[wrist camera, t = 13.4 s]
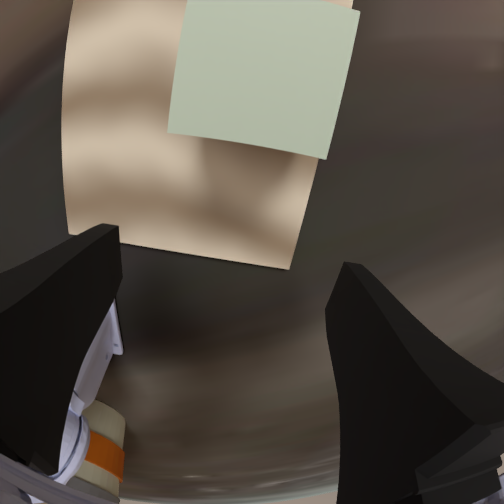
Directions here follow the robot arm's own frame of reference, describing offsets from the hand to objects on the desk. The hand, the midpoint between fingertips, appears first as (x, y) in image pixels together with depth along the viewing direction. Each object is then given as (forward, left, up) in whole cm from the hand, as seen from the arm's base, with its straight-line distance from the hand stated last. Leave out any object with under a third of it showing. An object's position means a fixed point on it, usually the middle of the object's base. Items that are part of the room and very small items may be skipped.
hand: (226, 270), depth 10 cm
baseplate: (+3, +4, -10) cm, 12 cm away
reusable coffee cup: (-37, +16, -11) cm, 42 cm away
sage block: (+6, 0, -5) cm, 8 cm away
